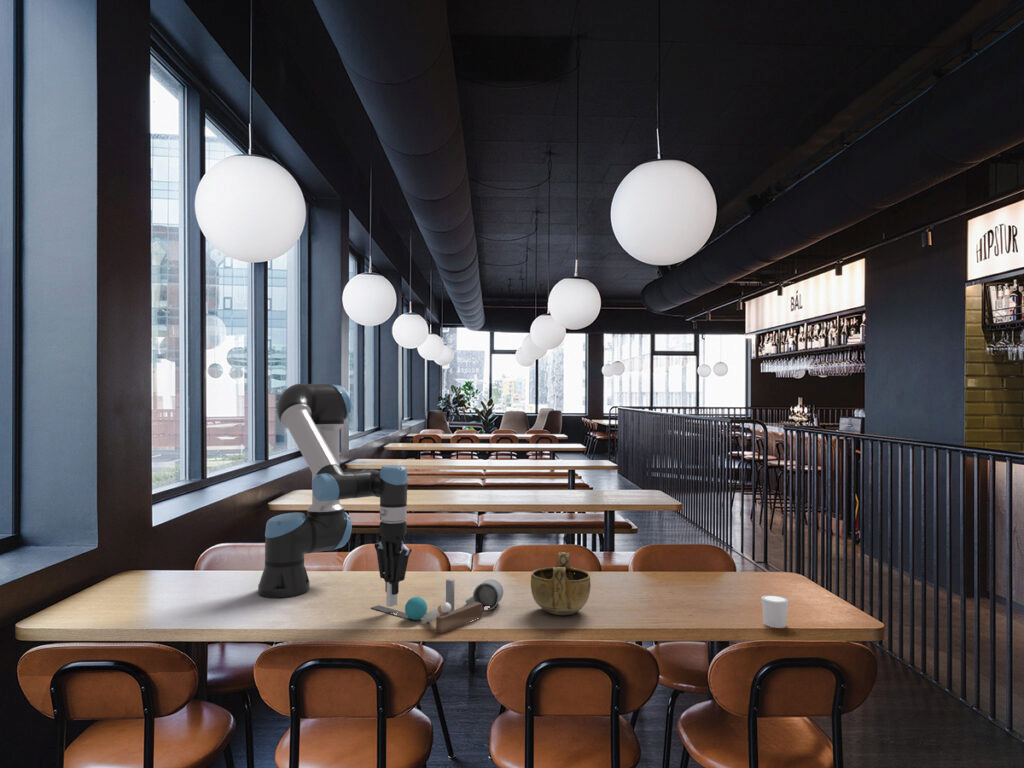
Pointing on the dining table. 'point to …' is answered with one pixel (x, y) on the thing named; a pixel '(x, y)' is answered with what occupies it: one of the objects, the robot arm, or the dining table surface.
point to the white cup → (774, 610)
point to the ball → (415, 608)
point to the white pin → (437, 612)
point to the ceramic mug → (487, 594)
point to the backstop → (458, 617)
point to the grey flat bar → (391, 611)
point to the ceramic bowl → (560, 587)
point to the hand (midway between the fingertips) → (391, 605)
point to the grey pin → (450, 592)
